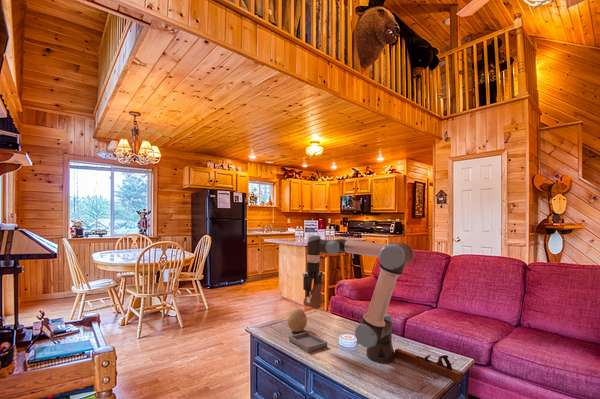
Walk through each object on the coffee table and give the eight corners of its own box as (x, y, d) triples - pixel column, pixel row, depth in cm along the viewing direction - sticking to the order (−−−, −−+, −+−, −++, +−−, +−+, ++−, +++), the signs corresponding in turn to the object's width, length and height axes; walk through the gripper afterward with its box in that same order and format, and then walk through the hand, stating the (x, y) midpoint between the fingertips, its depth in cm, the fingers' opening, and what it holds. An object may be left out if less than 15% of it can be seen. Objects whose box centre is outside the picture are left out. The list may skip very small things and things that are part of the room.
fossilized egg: (283, 330, 203) (283, 307, 204) (297, 326, 212) (298, 304, 213) (296, 336, 194) (296, 312, 195) (310, 332, 203) (311, 308, 203)
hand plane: (464, 380, 147) (464, 358, 148) (460, 384, 143) (460, 361, 144) (397, 355, 172) (397, 336, 172) (392, 358, 168) (393, 339, 169)
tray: (327, 347, 179) (327, 342, 180) (307, 353, 171) (307, 347, 172) (307, 336, 195) (307, 331, 195) (288, 341, 187) (289, 336, 187)
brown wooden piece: (316, 309, 177) (317, 277, 178) (303, 304, 185) (304, 274, 185) (320, 308, 180) (321, 276, 180) (307, 303, 188) (308, 273, 188)
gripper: (320, 259, 191) (319, 298, 190) (297, 261, 182) (296, 302, 181) (328, 261, 185) (327, 301, 184) (305, 263, 175) (303, 305, 174)
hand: (311, 301), depth 182 cm, fingers closed on brown wooden piece, 4 cm apart
